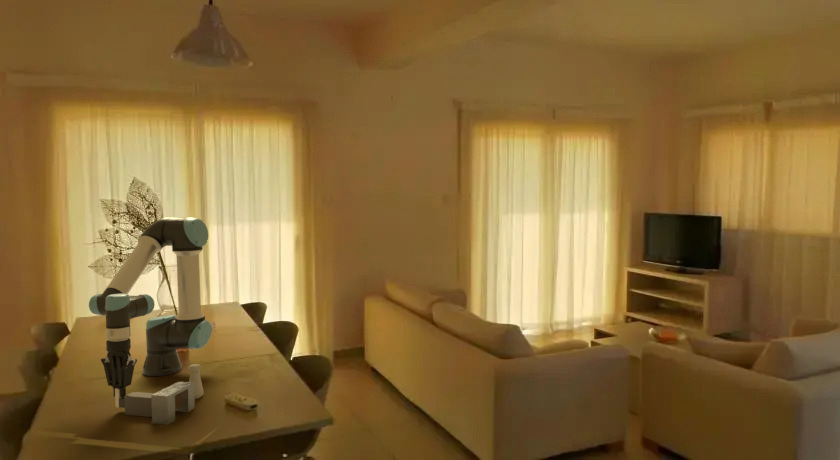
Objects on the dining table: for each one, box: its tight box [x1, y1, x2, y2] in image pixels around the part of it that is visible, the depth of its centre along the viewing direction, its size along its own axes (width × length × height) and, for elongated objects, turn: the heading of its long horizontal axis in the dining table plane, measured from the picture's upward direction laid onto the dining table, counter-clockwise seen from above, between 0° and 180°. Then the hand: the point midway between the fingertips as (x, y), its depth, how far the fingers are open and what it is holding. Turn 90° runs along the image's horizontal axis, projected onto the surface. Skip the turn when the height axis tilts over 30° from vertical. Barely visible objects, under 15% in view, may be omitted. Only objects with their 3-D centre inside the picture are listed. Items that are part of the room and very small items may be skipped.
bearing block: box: [151, 381, 196, 426], centre depth 205 cm, size 6×15×10 cm, turn 167°
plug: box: [118, 391, 154, 418], centre depth 207 cm, size 17×4×6 cm, turn 77°
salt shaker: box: [188, 363, 204, 400], centre depth 222 cm, size 6×6×13 cm
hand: (120, 405), depth 209 cm, fingers closed
